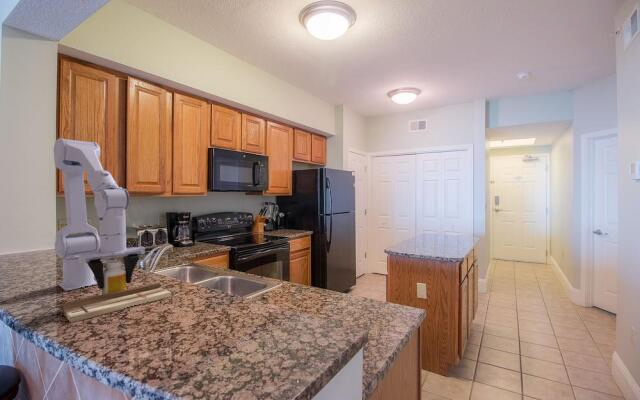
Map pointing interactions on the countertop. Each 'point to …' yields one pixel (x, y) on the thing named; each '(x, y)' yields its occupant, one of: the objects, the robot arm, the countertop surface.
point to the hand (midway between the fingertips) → (114, 285)
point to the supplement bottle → (114, 277)
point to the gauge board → (113, 301)
